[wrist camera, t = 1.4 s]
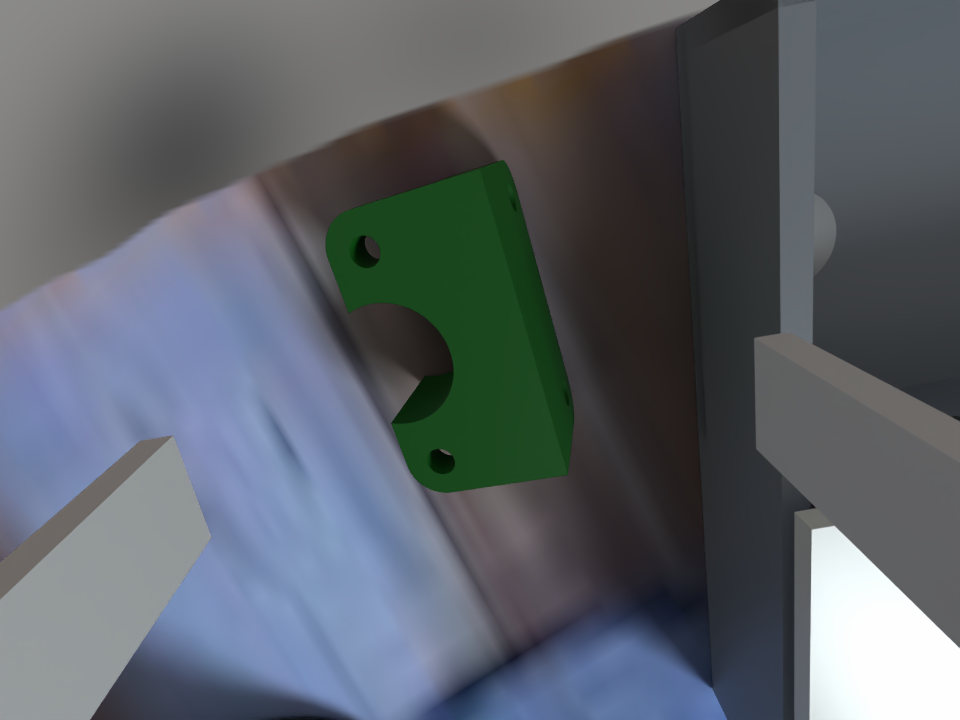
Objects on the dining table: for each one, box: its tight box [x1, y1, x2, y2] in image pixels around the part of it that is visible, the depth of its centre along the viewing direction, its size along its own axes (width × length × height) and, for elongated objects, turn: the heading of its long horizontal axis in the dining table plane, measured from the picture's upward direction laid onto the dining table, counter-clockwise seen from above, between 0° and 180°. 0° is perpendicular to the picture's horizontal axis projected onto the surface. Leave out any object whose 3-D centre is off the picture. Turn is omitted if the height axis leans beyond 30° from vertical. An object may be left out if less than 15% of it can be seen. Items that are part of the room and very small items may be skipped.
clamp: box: [326, 160, 574, 493], centre depth 23 cm, size 12×6×9 cm, turn 10°
